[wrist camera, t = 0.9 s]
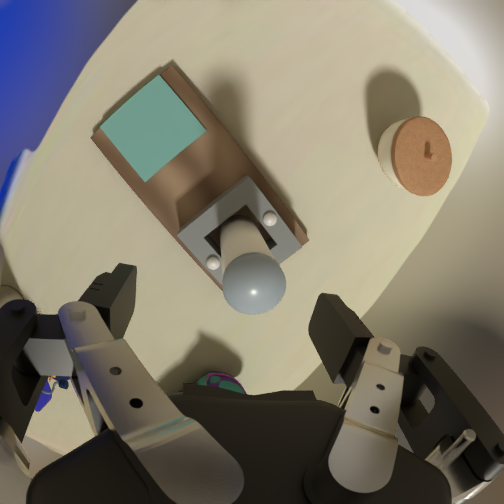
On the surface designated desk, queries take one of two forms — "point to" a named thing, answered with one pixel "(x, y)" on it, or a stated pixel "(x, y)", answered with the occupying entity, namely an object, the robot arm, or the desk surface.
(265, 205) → the grey square socket
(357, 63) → the desk surface
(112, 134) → the mat
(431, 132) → the lidded jar
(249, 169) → the base board
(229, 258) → the capped cream cylinder
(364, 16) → the desk surface
